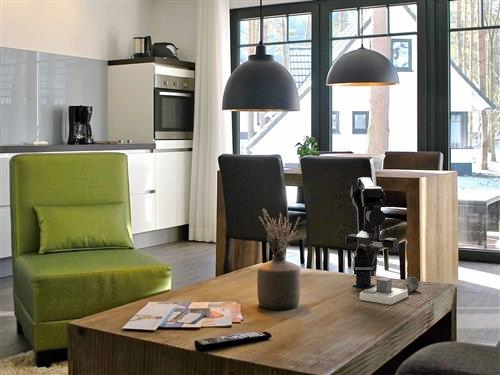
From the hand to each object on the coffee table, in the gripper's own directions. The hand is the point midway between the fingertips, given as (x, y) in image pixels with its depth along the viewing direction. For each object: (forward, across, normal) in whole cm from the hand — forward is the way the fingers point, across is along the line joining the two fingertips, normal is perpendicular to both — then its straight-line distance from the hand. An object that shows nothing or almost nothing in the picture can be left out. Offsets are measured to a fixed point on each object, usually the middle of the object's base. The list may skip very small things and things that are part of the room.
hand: (371, 264), depth 252 cm
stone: (+12, +8, +16) cm, 22 cm away
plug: (+12, +5, +1) cm, 13 cm away
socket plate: (+12, +5, +1) cm, 13 cm away
